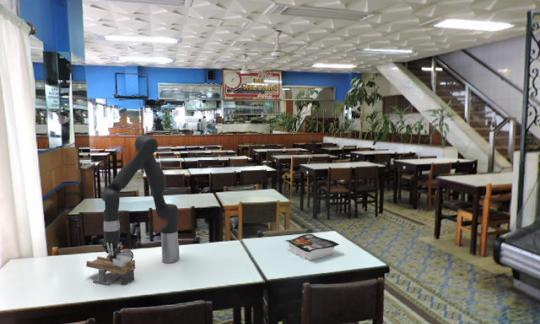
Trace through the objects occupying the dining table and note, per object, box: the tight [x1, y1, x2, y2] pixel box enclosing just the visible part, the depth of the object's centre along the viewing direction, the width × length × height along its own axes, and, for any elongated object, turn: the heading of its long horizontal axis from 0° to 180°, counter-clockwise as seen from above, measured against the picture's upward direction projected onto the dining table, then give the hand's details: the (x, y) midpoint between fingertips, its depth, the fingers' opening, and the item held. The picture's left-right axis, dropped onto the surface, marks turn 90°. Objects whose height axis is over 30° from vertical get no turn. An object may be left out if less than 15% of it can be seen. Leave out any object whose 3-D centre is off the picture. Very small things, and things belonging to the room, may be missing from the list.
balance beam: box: [85, 256, 136, 275], centre depth 195 cm, size 8×25×6 cm, turn 67°
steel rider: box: [113, 255, 131, 268], centre depth 192 cm, size 5×7×5 cm
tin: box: [106, 248, 135, 261], centre depth 214 cm, size 15×3×8 cm, turn 135°
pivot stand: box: [92, 269, 135, 287], centre depth 194 cm, size 14×18×7 cm
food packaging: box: [284, 233, 340, 261], centre depth 230 cm, size 25×8×23 cm
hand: (113, 261), depth 194 cm, fingers closed
